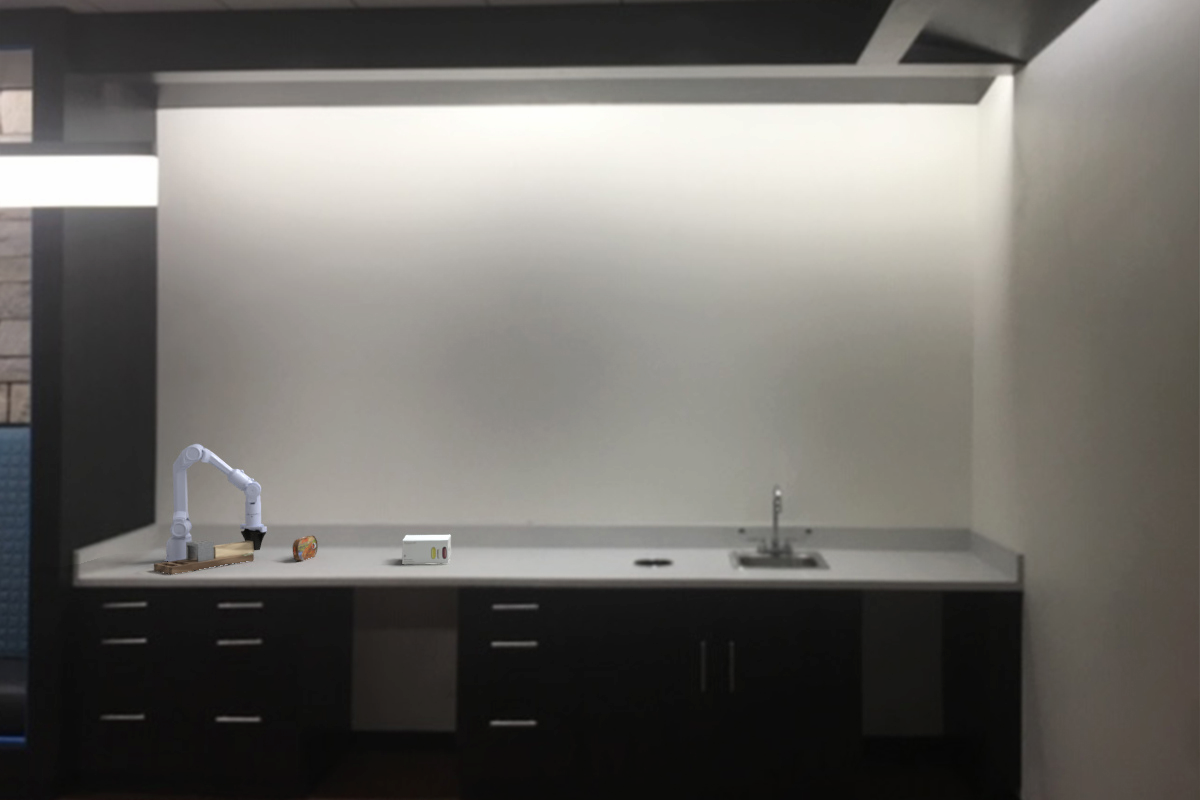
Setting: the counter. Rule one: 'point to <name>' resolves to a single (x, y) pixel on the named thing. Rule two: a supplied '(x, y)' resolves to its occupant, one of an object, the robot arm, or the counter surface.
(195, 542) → the metal u-shaped holder
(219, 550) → the ash block
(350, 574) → the counter surface
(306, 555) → the tin
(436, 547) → the supplement box
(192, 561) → the walnut deck
